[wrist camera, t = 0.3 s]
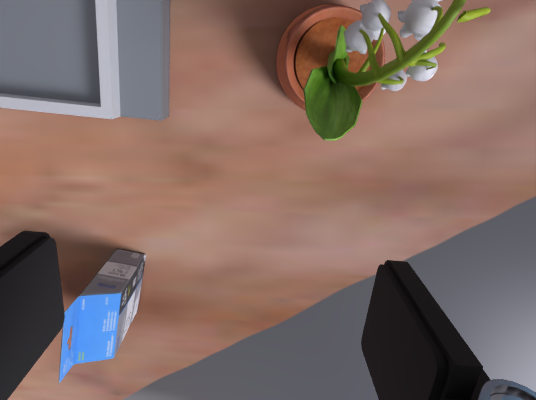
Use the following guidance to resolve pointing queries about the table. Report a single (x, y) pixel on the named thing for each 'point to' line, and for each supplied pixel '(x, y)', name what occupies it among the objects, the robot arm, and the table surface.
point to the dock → (86, 57)
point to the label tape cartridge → (103, 311)
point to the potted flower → (357, 56)
